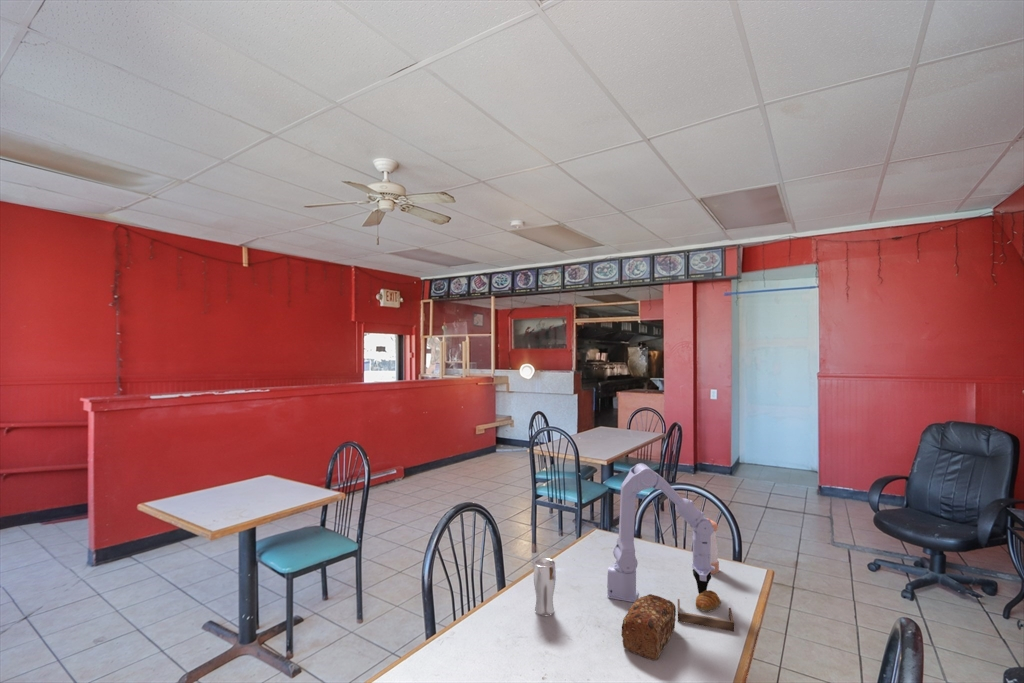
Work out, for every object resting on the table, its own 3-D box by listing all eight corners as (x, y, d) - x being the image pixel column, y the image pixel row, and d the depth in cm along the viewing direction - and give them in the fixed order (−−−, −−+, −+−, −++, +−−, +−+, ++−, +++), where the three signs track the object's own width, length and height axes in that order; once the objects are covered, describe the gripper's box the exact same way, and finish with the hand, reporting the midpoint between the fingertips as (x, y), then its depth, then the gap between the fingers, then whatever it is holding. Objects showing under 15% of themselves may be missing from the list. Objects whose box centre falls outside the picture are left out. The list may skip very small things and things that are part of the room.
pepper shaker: (715, 565, 181) (714, 515, 182) (721, 574, 173) (721, 522, 174) (695, 564, 181) (695, 514, 182) (701, 573, 174) (701, 521, 175)
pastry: (711, 616, 144) (711, 603, 144) (690, 608, 149) (689, 596, 149) (722, 605, 151) (722, 593, 151) (701, 597, 156) (701, 586, 156)
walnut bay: (677, 621, 141) (677, 612, 141) (677, 606, 150) (677, 598, 150) (734, 631, 136) (734, 622, 136) (730, 616, 144) (730, 607, 145)
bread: (658, 664, 121) (658, 624, 122) (619, 649, 127) (619, 612, 128) (677, 630, 137) (677, 595, 137) (642, 619, 143) (641, 585, 143)
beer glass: (558, 608, 148) (558, 560, 149) (551, 619, 142) (551, 568, 142) (538, 603, 151) (538, 556, 152) (529, 613, 145) (530, 564, 145)
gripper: (716, 562, 148) (716, 606, 148) (712, 546, 162) (713, 586, 161) (692, 559, 151) (693, 602, 150) (691, 543, 164) (691, 582, 164)
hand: (702, 593), depth 156 cm, fingers closed
